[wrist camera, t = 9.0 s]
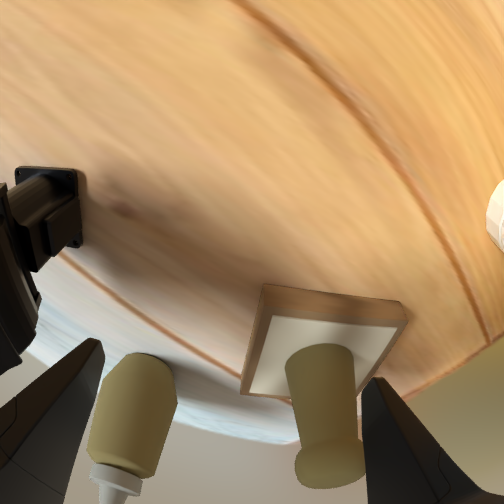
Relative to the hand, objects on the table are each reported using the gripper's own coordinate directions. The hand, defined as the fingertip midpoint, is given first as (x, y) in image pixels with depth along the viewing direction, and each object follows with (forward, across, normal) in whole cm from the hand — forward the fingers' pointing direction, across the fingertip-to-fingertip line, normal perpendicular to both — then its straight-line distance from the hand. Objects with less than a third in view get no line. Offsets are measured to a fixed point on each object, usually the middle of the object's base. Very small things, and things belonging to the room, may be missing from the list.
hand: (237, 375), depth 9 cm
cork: (+10, -8, +12) cm, 18 cm away
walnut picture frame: (+13, -8, +12) cm, 19 cm away
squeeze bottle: (+13, +8, +20) cm, 25 cm away
